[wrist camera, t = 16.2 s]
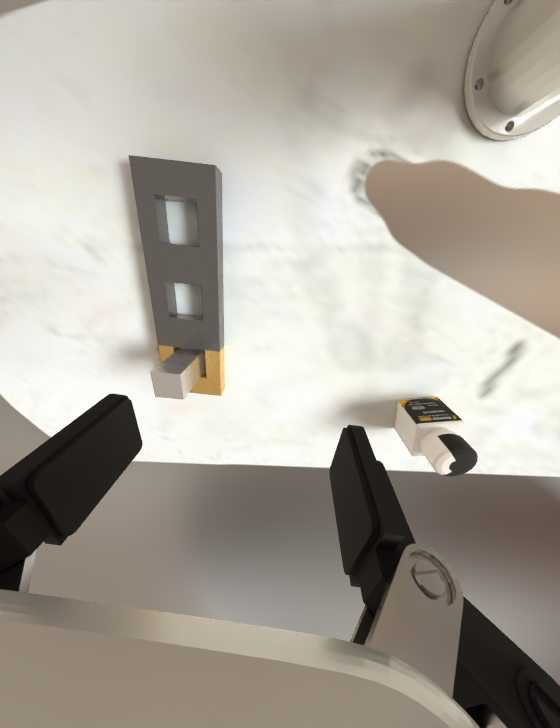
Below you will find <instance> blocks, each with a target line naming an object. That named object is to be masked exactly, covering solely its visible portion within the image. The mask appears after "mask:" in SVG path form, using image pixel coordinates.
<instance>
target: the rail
mask: <svg viewBox="0 0 560 728" xmlns="http://www.w3.org/2000/svg"><path fill="white" fill-rule="evenodd" d="M129 160H130V166H131V173H132V179H133V185H134V192H135V198H136V205H137V211H138V217H139V224H140V230H141V237H142V243H143V250H144V256H145V262H146V269H147V275H148V282H149V288H150V295H151V301H152V307H153V314H154V320H155V327H156V333H157V339H158V346H159V352H160V359H161V363H162V362H163V361H164V360H165V359H167V358H168V357H169V356H171V355H172V354H173V353H174V352H176V351H177V350H178V349H179V348H189V349H199V350H205V358H206V371H205V372H204V373H203V375H202V376H201V377H200V379H199V380H198V381H197V383H196V384H195V385H194V387H193V388H192V389H191V390H190V392H191V393H200V394H209V395H219V396H221V394H222V392H223V390H224V388H225V384H224V313H223V241H222V173H221V172H220V171H219V169H218V168H217V167H216V165H208V164H200V163H191V162H182V161H174V160H165V159H156V158H148V157H139V156H130V155H129ZM165 200H173V201H182V202H190V203H197V214H198V232H199V247H193V246H184V245H175V244H170V242H169V233H168V224H167V214H166V205H165ZM174 282H176V283H185V284H194V285H201V286H202V304H203V317H201V316H192V315H183V314H177V307H176V298H175V289H174Z"/></svg>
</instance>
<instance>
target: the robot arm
mask: <svg viewBox="0 0 560 728" xmlns="http://www.w3.org/2000/svg"><path fill="white" fill-rule="evenodd" d="M464 93H465V103H466V108H467V111H468V114H469V118H470V119H471V121H472V123H473V125H474V126H475V128H476V129H477V130H478V131H479V132H480V133H481V134H483V135H485V136H487V137H488V138H490V139H495V140H500V141H504V140H514V139H517V138H520V137H524V136H526V135H528V134H530V133H532V132H534V131H536V130H538V129H540V128H541V127H543V126H545V125H546V124H548V123H550V122H551V121H552V120H553V119H555V118H556V117H557V116H558V115H560V0H496V1H495V2H494V3H493V5H492V7H491V8H490V10H489V12H488V13H487V15H486V17H485V19H484V20H483V22H482V24H481V26H480V29H479V31H478V33H477V35H476V37H475V40H474V43H473V46H472V49H471V52H470V55H469V58H468V63H467V69H466V74H465V88H464ZM141 448H142V440H141V436H140V432H139V428H138V424H137V421H136V417H135V413H134V409H133V405H132V402H131V400H130V399H129V398H128V397H127V396H125V395H119V394H109V395H107V396H106V397H105V398H103V399H102V400H101V401H99V402H98V403H97V404H95V405H94V406H93V407H91V408H90V409H89V410H87V411H86V412H85V413H83V414H82V415H81V416H79V417H78V418H77V419H75V420H74V421H73V422H71V423H70V424H69V425H67V426H66V427H65V428H63V429H62V430H61V431H59V432H58V433H57V434H55V435H54V436H53V437H51V438H50V439H49V440H47V441H46V442H45V443H43V444H42V445H41V446H39V447H38V448H37V449H35V450H34V451H33V452H32V453H30V454H29V455H27V456H26V457H25V458H24V459H22V460H21V461H19V462H18V463H17V464H15V465H14V466H13V467H11V468H10V469H9V470H8V471H6V472H5V473H3V474H2V475H1V476H0V728H560V686H559V685H558V684H557V683H556V682H555V681H554V680H553V679H552V678H551V677H550V676H549V675H548V674H547V673H546V672H545V671H544V670H543V669H542V668H541V667H540V666H538V665H537V664H536V663H535V662H534V661H533V660H532V659H531V658H530V657H529V656H528V655H527V654H525V653H524V652H523V651H522V650H521V649H520V648H519V647H518V646H517V645H516V644H515V643H514V642H512V641H511V640H510V639H509V638H508V637H507V636H506V635H505V634H504V633H502V631H501V630H499V629H498V628H497V627H496V626H495V625H494V624H493V623H492V622H491V621H490V620H489V619H487V618H486V617H485V616H484V615H483V614H482V613H481V612H480V611H479V610H478V609H477V608H476V607H474V606H473V605H472V604H471V603H470V602H469V601H468V600H467V599H466V598H465V597H463V592H462V589H461V586H460V583H459V581H458V579H457V578H456V575H455V574H454V572H453V570H452V569H451V568H450V566H449V565H448V564H447V562H446V561H445V560H444V559H443V558H442V557H441V556H440V555H438V554H437V553H436V552H435V551H433V550H432V549H430V548H429V547H427V546H424V545H421V544H416V543H415V541H414V538H413V536H412V533H411V531H410V528H409V526H408V524H407V521H406V519H405V516H404V514H403V511H402V509H401V506H400V504H399V502H398V499H397V497H396V494H395V492H394V489H393V487H392V485H391V482H390V480H389V477H388V475H387V472H386V470H385V467H384V466H383V464H382V463H381V462H380V461H376V458H375V456H374V453H373V450H372V448H371V445H370V443H369V440H368V438H367V435H366V432H365V430H364V428H363V427H362V426H355V425H348V427H347V428H343V430H342V434H341V437H340V440H339V443H338V446H337V449H336V452H335V455H334V458H333V461H332V464H331V467H330V481H331V488H332V495H333V501H334V508H335V515H336V522H337V528H338V535H339V542H340V548H341V555H342V562H343V568H344V572H345V574H346V575H349V576H350V583H351V586H354V587H360V588H361V593H362V598H363V602H364V603H365V607H364V609H363V611H362V614H361V616H360V619H359V621H358V624H357V626H356V628H355V631H354V633H353V635H352V638H351V640H350V642H348V641H344V640H339V639H335V638H329V637H323V636H318V635H312V634H306V633H300V632H294V631H289V630H282V629H276V628H270V627H263V626H255V625H249V624H243V623H236V622H229V621H222V620H216V619H208V618H202V617H195V616H188V615H181V614H174V613H168V612H161V611H154V610H147V609H139V608H133V607H125V606H118V605H111V604H104V603H97V602H90V601H82V600H75V599H68V598H61V597H54V596H46V595H39V594H32V593H28V592H29V587H30V581H31V576H32V571H33V565H34V560H35V555H36V549H37V548H38V547H39V546H40V545H41V543H42V542H43V541H44V542H45V543H47V544H54V545H62V543H63V542H64V541H65V540H66V538H67V537H68V536H69V535H72V534H73V533H74V532H76V530H77V529H78V528H79V527H80V526H81V524H82V523H83V522H84V520H85V519H86V518H87V517H88V516H89V514H90V513H91V512H92V510H93V509H94V508H95V507H96V505H97V504H98V503H99V502H100V500H101V499H102V498H103V497H104V495H105V494H106V493H107V491H108V490H109V489H110V488H111V486H112V485H113V484H114V483H115V482H116V480H117V479H118V478H119V476H120V475H121V474H122V473H123V471H124V470H125V469H126V468H127V466H128V465H129V464H130V463H131V461H132V460H133V459H134V458H135V456H136V455H137V454H138V453H139V451H140V450H141Z"/></svg>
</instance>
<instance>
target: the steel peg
mask: <svg viewBox="0 0 560 728" xmlns="http://www.w3.org/2000/svg"><path fill="white" fill-rule="evenodd" d="M205 371H206V358H205V350H199V349H189V348H179V349H178V350H177V351H176V352H174V353H173V354H172V355H171V356H169V357H168V358H167V359H165V360H164V361H163V362H162V363H160V364H159V365H158V366H157V367H155V368H154V369H153V370H152V371H150V373H151V378H152V383H153V388H154V393H155V397H163V398H174V399H184V398H185V397H186V396H187V394H188V393H189V392H190V390H191V389H192V388H193V387H194V385H195V384H196V383H197V381H198V380H199V379H200V377H201V376H202V375H203V373H204V372H205Z"/></svg>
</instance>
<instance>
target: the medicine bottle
mask: <svg viewBox="0 0 560 728" xmlns="http://www.w3.org/2000/svg"><path fill="white" fill-rule="evenodd" d="M463 424H464V422H463V420H462V419H460V418H459V417H458V416H457V415H456V414H455V413H454V412H453V411H452V410H451V409H450V408H448V407H447V406H446V405H445V404H444V403H443V402H442V401H441V400H440V399H439V398H438V397H427V398H416V399H404V400H398V403H397V411H396V420H395V430H396V431H397V433H398V435H399V436H400V438H401V439H402V441H403V443H404V444H405V446H406V447H407V449H408V451H409V452H410V454H411V455H412V456H425V457H426V458H427V460H428V461H429V463H430V464H431V466H432V467H433V468H434V470H435V471H436V472H437V473H439V474H442V475H445V476H457V475H461V474H464V473H466V472H468V471H469V470H471V469H472V468H473V467H474V466H475V465H476V463H477V453H476V452H475V450H474V449H473V448H472V447H471V446H470V445H469V444H468V443H467V442H466V441H465V440H464V439H463V438H462V437H461V436H460V434H461V431H462V427H463Z"/></svg>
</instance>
